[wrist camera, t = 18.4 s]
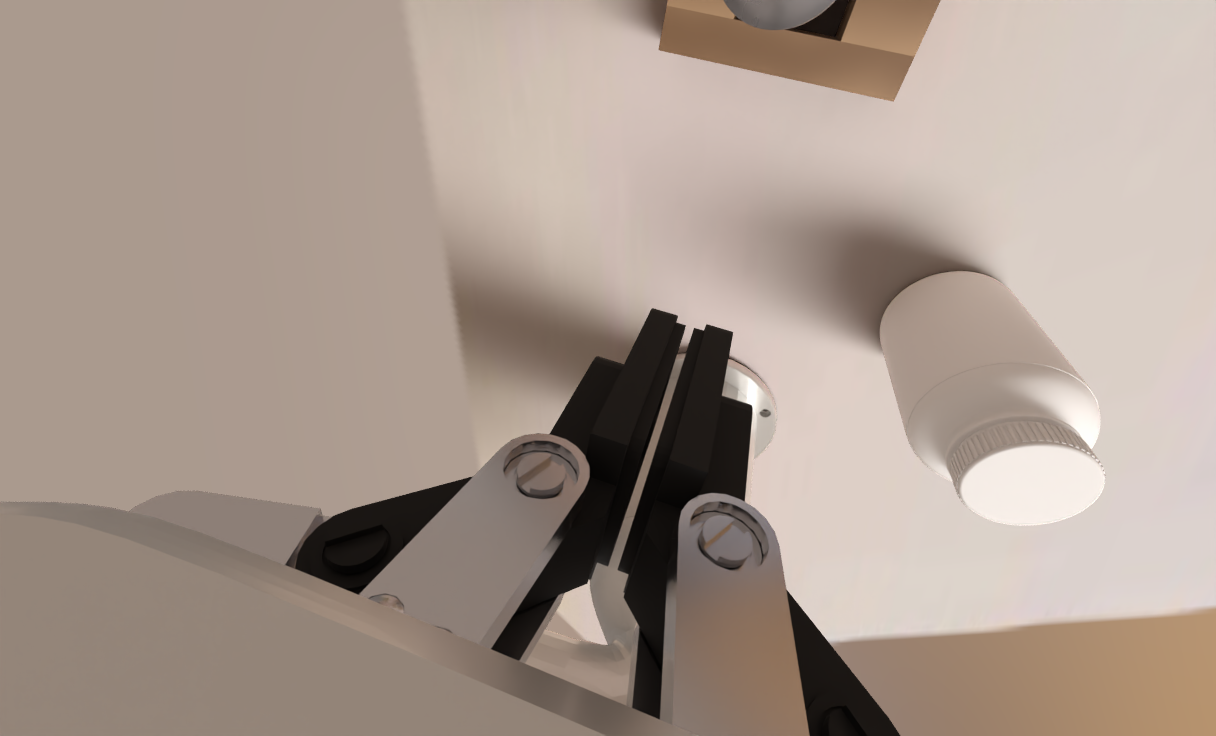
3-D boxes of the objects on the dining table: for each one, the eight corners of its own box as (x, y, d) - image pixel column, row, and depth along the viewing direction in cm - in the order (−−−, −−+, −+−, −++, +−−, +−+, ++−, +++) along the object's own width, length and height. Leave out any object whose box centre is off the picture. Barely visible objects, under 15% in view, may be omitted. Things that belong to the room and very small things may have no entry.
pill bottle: (1048, 317, 31) (1198, 500, 20) (931, 388, 36) (997, 566, 25) (959, 241, 30) (1062, 386, 19) (851, 324, 35) (880, 479, 24)
